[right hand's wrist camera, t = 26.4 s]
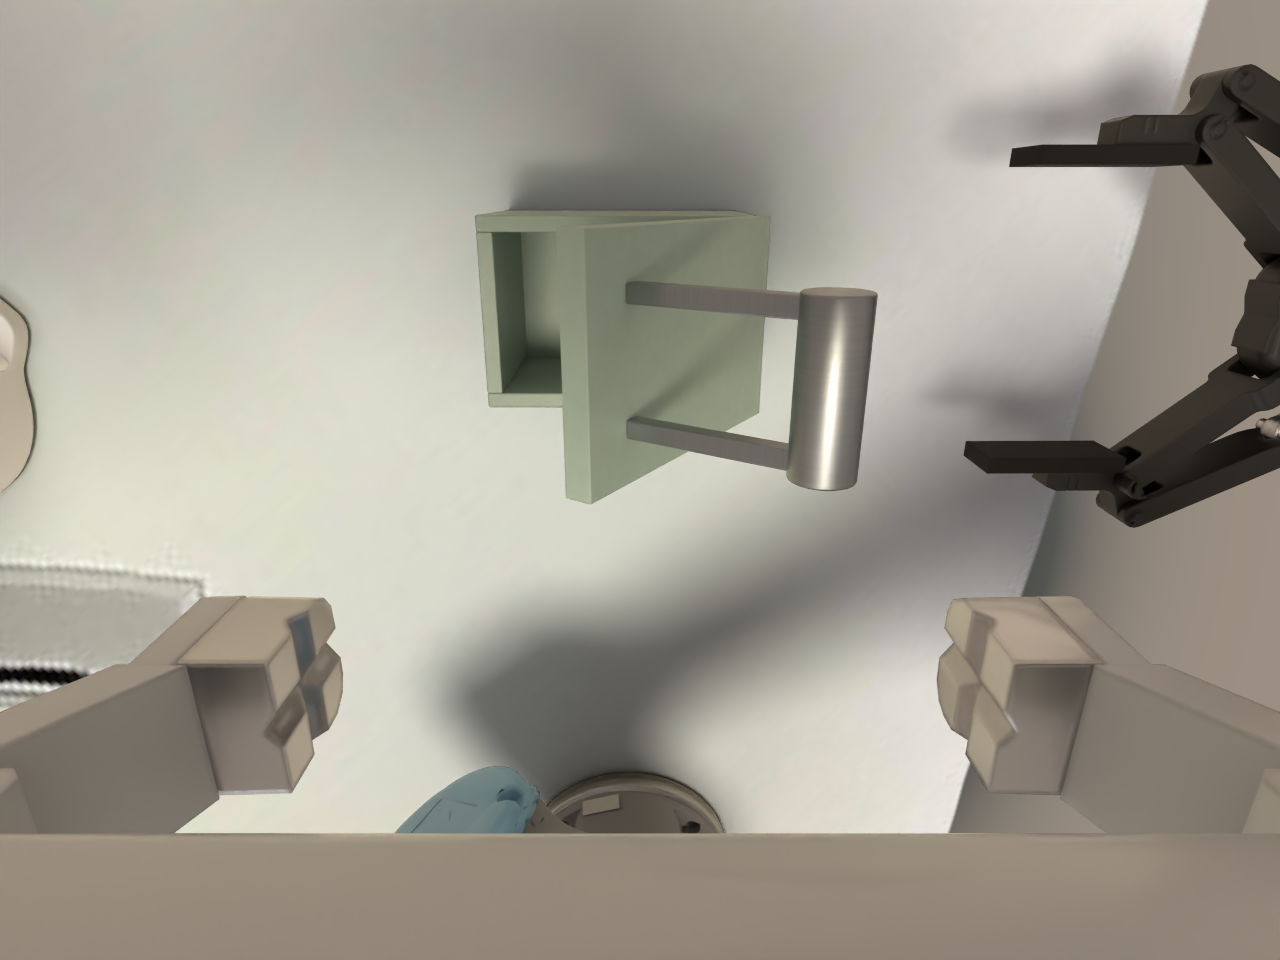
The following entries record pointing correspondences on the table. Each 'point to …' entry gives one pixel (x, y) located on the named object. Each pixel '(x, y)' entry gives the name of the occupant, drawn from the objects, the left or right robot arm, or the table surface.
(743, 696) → the table surface
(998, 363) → the table surface
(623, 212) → the chest
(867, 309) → the box cover with handle
